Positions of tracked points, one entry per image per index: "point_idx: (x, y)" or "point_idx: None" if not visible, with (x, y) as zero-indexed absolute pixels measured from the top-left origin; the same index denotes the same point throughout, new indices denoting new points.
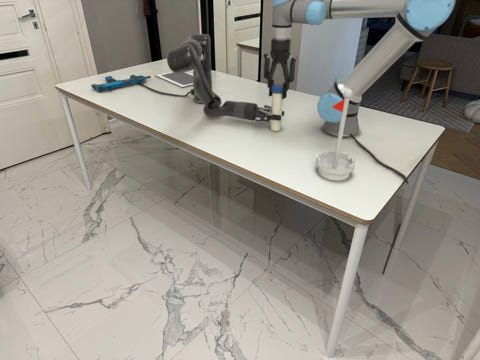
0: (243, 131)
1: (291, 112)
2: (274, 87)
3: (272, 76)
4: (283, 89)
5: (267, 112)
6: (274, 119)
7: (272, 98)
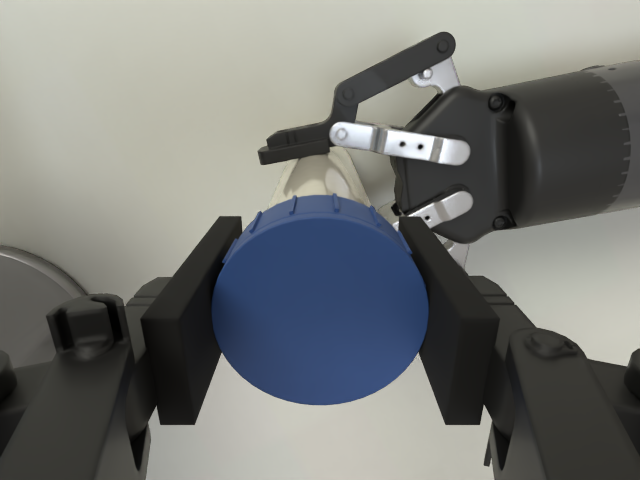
0: (495, 12)
1: (341, 405)
2: (347, 242)
3: (499, 460)
4: (198, 266)
5: (380, 143)
6: (304, 126)
7: (361, 199)
